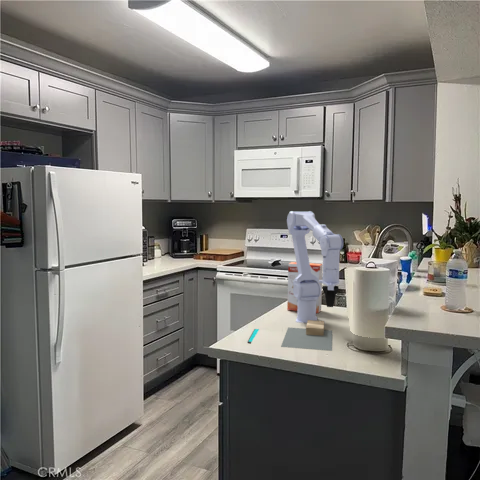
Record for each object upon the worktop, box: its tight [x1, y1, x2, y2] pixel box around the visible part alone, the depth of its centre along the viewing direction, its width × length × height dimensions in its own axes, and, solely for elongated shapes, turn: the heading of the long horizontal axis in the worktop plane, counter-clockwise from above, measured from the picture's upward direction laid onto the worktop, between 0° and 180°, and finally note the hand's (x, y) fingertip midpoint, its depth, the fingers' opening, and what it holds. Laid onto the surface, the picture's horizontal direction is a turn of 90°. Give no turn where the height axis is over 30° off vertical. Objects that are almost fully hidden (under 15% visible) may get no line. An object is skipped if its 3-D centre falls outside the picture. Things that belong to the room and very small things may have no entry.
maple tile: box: [305, 320, 325, 336], centre depth 150 cm, size 2×6×10 cm
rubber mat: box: [280, 327, 333, 352], centre depth 142 cm, size 22×16×1 cm
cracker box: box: [286, 261, 323, 314], centre depth 181 cm, size 14×6×21 cm, turn 68°
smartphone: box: [247, 328, 260, 344], centre depth 144 cm, size 7×1×15 cm
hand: (330, 306), depth 147 cm, fingers closed
